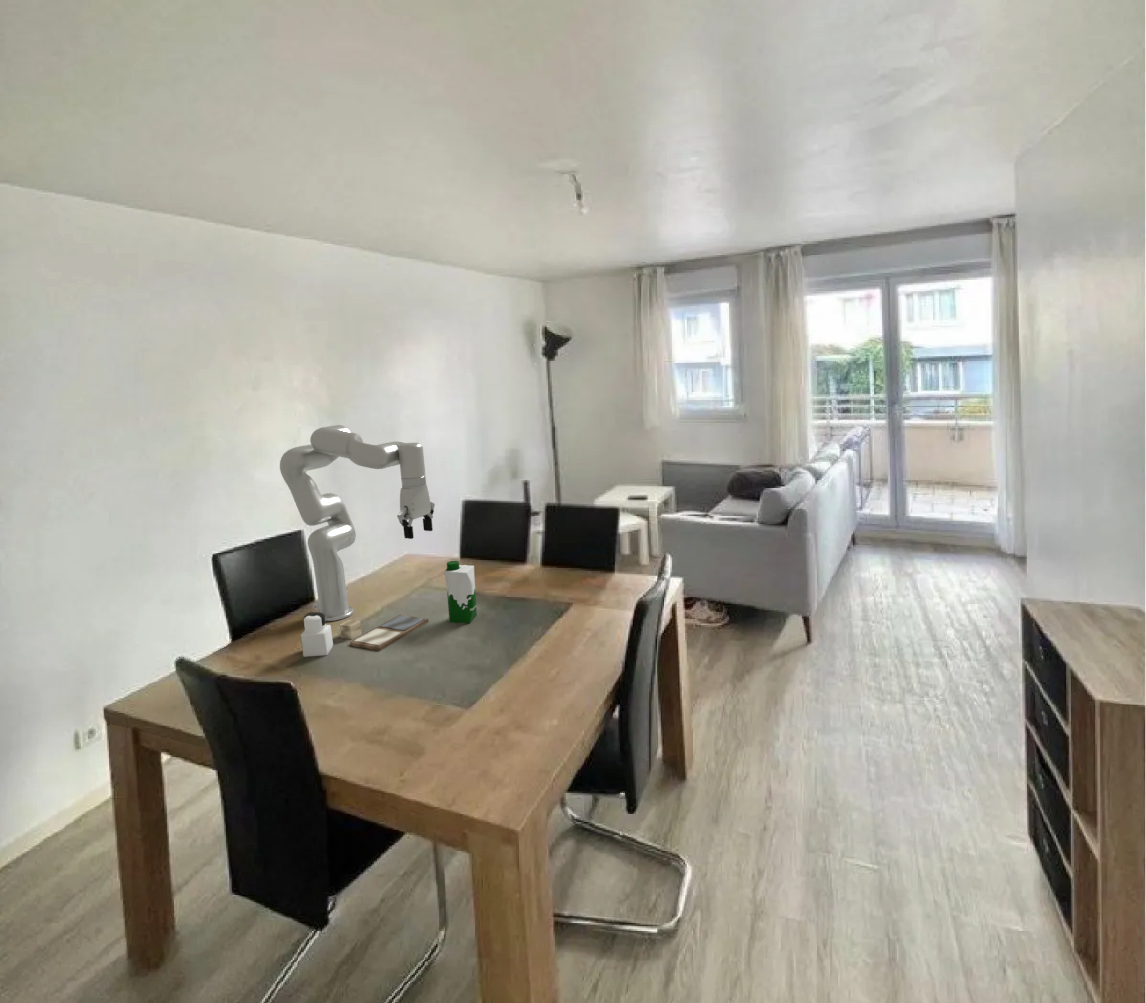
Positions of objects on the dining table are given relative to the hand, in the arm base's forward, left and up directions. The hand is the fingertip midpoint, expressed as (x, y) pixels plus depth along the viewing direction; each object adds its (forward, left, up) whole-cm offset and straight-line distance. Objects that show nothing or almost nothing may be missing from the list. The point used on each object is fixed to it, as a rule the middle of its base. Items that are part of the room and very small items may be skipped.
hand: (418, 534), depth 212 cm
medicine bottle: (-20, -28, -32) cm, 47 cm away
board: (-8, -9, -31) cm, 34 cm away
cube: (-19, -15, -32) cm, 40 cm away
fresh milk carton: (+8, +9, -32) cm, 34 cm away
